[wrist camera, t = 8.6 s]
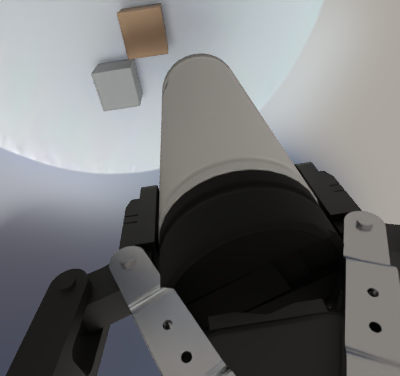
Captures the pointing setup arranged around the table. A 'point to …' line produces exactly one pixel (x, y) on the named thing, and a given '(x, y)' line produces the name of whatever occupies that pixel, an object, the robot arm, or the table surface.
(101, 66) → the slate-grey block
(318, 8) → the table surface
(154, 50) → the light brown cube
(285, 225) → the travel mug
